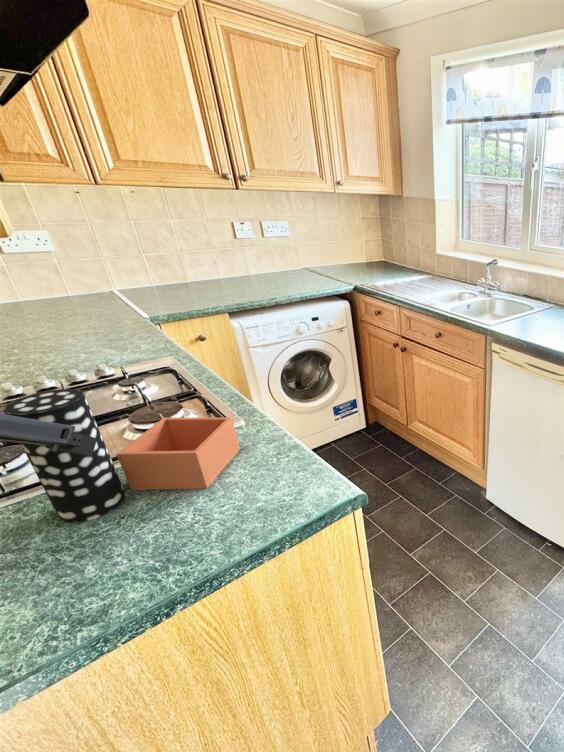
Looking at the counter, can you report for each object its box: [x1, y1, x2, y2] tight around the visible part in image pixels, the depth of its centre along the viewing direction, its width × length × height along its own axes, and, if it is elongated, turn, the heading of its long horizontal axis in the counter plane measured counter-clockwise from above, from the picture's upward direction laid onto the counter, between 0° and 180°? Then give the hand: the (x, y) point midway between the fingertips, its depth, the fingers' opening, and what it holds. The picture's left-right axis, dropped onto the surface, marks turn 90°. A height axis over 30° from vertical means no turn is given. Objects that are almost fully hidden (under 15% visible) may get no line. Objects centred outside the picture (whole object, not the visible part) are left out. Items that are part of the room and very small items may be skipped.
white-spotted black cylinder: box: [3, 388, 127, 524], centre depth 66 cm, size 8×8×20 cm
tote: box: [116, 417, 241, 491], centre depth 79 cm, size 13×13×8 cm
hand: (41, 447), depth 62 cm, fingers open, 13 cm apart
